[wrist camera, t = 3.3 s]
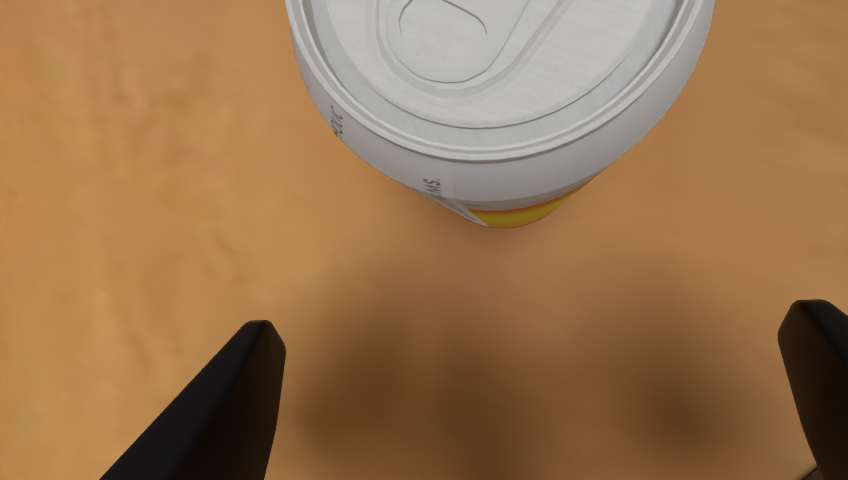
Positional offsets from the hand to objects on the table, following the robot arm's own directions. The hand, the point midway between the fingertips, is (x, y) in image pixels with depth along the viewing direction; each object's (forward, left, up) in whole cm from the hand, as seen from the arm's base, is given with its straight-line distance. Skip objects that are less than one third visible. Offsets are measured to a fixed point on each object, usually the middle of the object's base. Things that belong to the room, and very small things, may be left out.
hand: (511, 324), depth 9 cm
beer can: (+3, +4, -12) cm, 13 cm away
